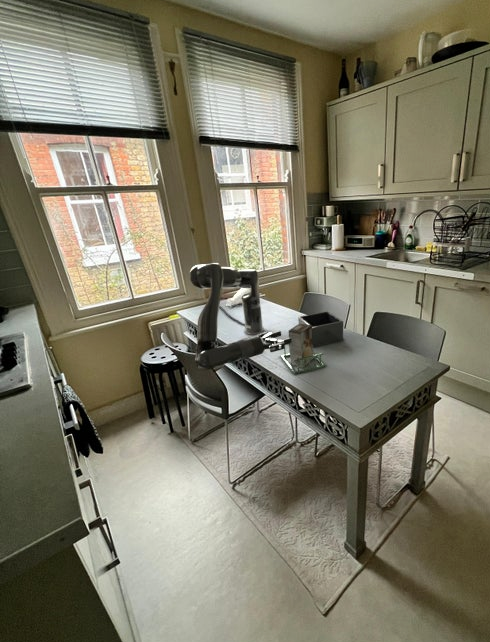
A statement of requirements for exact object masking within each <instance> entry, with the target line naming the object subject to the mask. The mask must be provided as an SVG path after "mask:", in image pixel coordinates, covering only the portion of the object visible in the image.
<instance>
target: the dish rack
mask: <svg viewBox="0 0 490 642" xmlns="http://www.w3.org/2000/svg"><path fill="white" fill-rule="evenodd" d="M286 346H288V350H289V353H287V352H286ZM284 347H285V349H283V354H281V355H280V358H281V359H282V360H283V362H284V363H285V365H286V366H287V367H288V369H289V370H290V371H291V372H292V374H293V375H299V374H302V373H306V372H309V371H313V370H318V369H322V368H325V367H326V364H325V363H324V362H323V361H322V356H324V355H325V353H324V352H322V353H317V354H315V353H314V352H313V355H312V356H308V357H304V358H300V359H295V360H294V362H295V361H297V366H296V367H297V370H295V369H294V368H293V366H292V364H291V363H289V361H288V360H287V359H286V357H290V345H289V344H287V345H284ZM312 357H313V363H314V364H313V365H314V366H311V361H310V358H312ZM308 358H309V363H308V368H306V365H305V362H304V359H308ZM300 360H303V367H302V369H300V367H299V361H300ZM317 362H318V363H319V365H317Z"/></svg>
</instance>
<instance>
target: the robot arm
mask: <svg viewBox="0 0 490 642" xmlns="http://www.w3.org/2000/svg"><path fill="white" fill-rule="evenodd" d="M188 277H189V281H190V283H191V285H192V286H193V287H195V288H196V289H199V290H209V289H210V290H209V291H210V292H209V295H208V299H207V301H206V303H205V305H204V307H203V308H202V310H201V312H200V313H199V315H198V318H197V325H196V327H197V328H196V329H197V330H196V340H197V341H196V349H195V355H194V356H195V358H194V359H195V361H194V363H195V365H196V367H197V368H198V369H199V370H201V371H209V370H212V369H216V368H217V367H221V366H223V365H226V364H232V363H235V362H239V361H241V360H247V359H249V358H253V357H256V356H259V355H263V353H264V352H265V350H269V353H276V352H278V351H282V350H284V349H285V350H286V346H288V345H289V344H290V343H292V339H291V338H289V337H287V338H284V339H277V338H279V337H282V331H280V330H277V331H274V332H269V331H268V330H267V331H264V327H263V318H262V306H261V295H260V294H261V292H260V277H259V273H258V270H256V269H239V270H238V269H236V268H234V267H231V266H221V265H220V264H219V263H218V262H207V263H201V264H196V265H194V266H192V268H191V269H190V271H189V276H188ZM236 288H240V289H241V288H249V289H250V290H251V292H250V293H247V294H244V295H243V296H242V303H241V305H242V312H243V313H242V314H243V321H244V323H243V322H241V321H240V320H239V319H236V318H235V317H233V316H232V315H230V314H229V313H228V312H227V311H226V310H225V309H224V308H223V307H222V306H221V299H222V294H223V289H226V290H227V289H230V290H231V289H236ZM220 309H221V310H222V312H223V313H224V314H226V316H227V317H228V318H230V319H232V320H233V321H235V322H236V323H238V324H240V325H241V326H244V327H245V328H244V329H245V334H247V335H251V336H249V337H246V338H241V339H239V340H237V341H234V342H230V343H226V344H224V345H221V346H216V343H217V340H218V321H219V310H220ZM252 335H253V336H252ZM287 344H288V345H287ZM284 345H285V347H284Z"/></svg>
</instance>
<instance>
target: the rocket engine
mask: <svg viewBox="0 0 490 642" xmlns="http://www.w3.org/2000/svg"><path fill="white" fill-rule="evenodd" d="M250 292H251V288H240V289H239V290H238V291H237V292H236V293H235V294H234V295H233V297H231V298H230V297H229V298H227V301H226V304H225V306H226V307H230V308H233V307H234V306H233V304H242V296H243V295H244V294H247V293H250Z"/></svg>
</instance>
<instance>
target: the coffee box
mask: <svg viewBox="0 0 490 642" xmlns="http://www.w3.org/2000/svg"><path fill="white" fill-rule="evenodd" d="M288 338H291V339H292V343H290V344H288V346H289V345H290V352H289V354H290V356H289V357H290V358H289V359H290V365H291V366H296V367H297V361H295V362H294V360H295V359H300V358H304V357H308V356H312V355H313V353H314V347H313V335H312V325H307V324H301V323H299V322H298V323H297V324H296V325H295V326H294V327H292V328H290V329H289V330H288ZM312 360H314V357H312V358H310V362H311V361H312ZM304 362H305V366H306V365H309V358H308V359H304ZM299 368H303V360H300V361H299Z"/></svg>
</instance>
